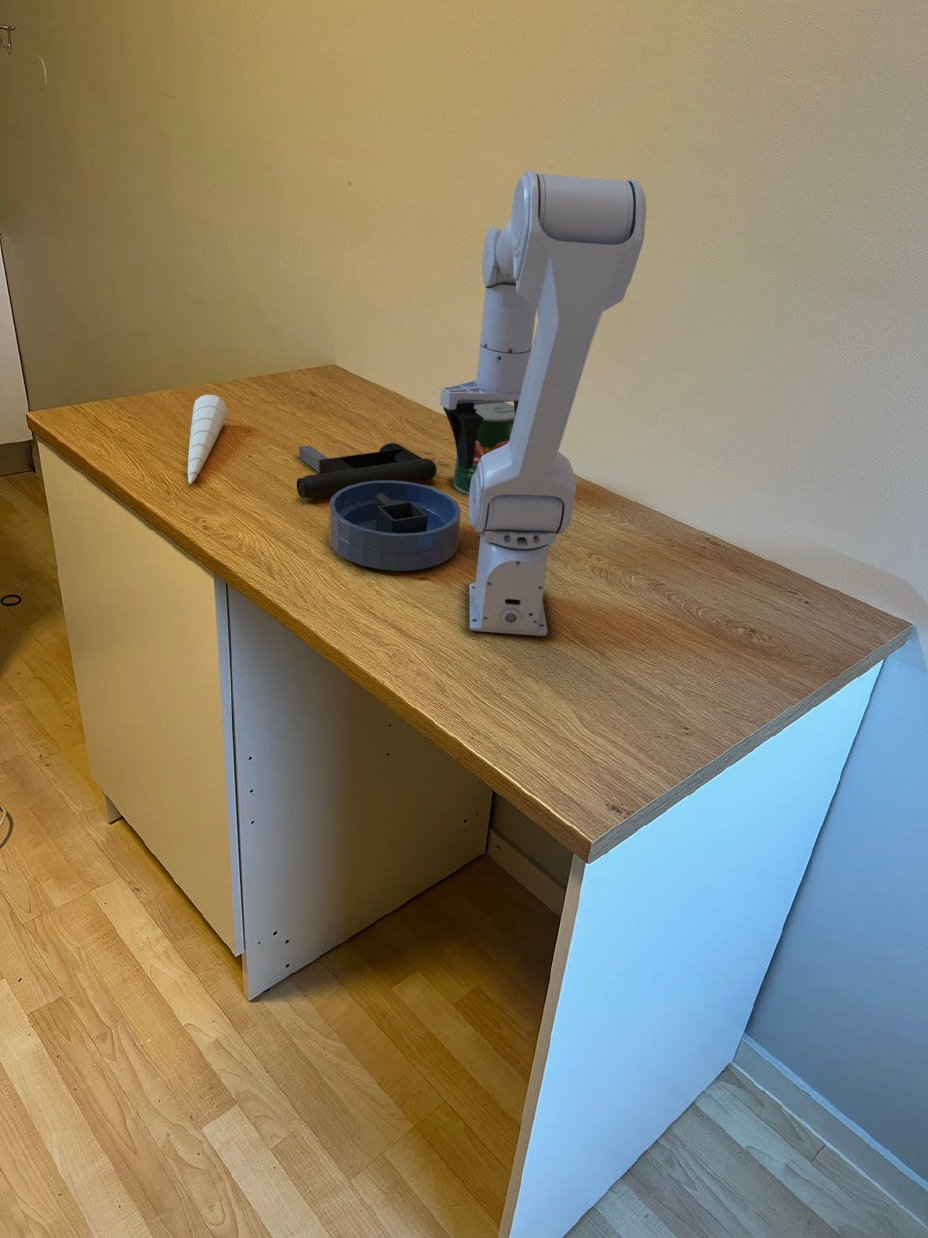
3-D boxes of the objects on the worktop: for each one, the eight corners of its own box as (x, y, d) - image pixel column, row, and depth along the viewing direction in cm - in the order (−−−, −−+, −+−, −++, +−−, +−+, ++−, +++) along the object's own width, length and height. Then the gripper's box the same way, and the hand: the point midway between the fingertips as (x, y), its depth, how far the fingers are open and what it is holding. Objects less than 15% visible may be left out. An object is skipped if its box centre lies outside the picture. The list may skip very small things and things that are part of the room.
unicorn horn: (160, 485, 119) (157, 450, 117) (196, 423, 140) (194, 391, 137) (197, 488, 120) (195, 452, 117) (228, 425, 140) (227, 394, 138)
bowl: (456, 580, 105) (460, 540, 102) (321, 569, 104) (321, 529, 102) (457, 522, 118) (460, 485, 115) (336, 512, 117) (337, 475, 115)
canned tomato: (467, 500, 124) (475, 420, 119) (444, 477, 130) (450, 400, 125) (520, 494, 127) (530, 417, 122) (495, 472, 133) (503, 397, 128)
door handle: (259, 446, 127) (308, 483, 116) (388, 430, 137) (445, 463, 126) (260, 469, 129) (308, 508, 117) (387, 452, 139) (444, 486, 127)
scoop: (425, 551, 109) (427, 515, 107) (391, 557, 107) (393, 521, 105) (394, 523, 115) (396, 488, 112) (361, 528, 113) (363, 493, 110)
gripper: (539, 333, 109) (525, 443, 116) (430, 339, 102) (422, 456, 109) (574, 350, 104) (557, 464, 111) (463, 358, 97) (452, 479, 104)
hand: (492, 461), depth 110 cm, fingers open, 7 cm apart
